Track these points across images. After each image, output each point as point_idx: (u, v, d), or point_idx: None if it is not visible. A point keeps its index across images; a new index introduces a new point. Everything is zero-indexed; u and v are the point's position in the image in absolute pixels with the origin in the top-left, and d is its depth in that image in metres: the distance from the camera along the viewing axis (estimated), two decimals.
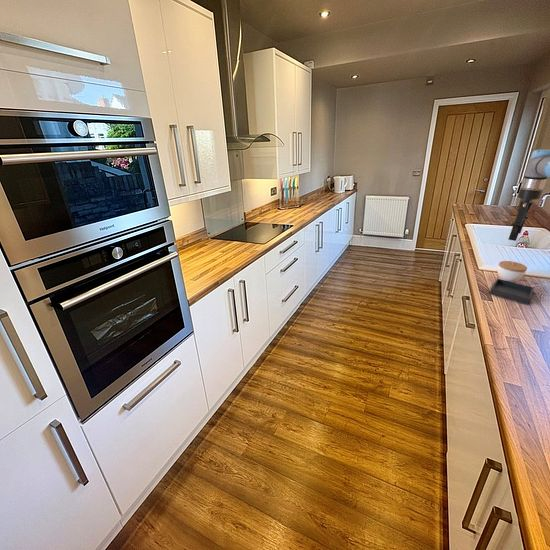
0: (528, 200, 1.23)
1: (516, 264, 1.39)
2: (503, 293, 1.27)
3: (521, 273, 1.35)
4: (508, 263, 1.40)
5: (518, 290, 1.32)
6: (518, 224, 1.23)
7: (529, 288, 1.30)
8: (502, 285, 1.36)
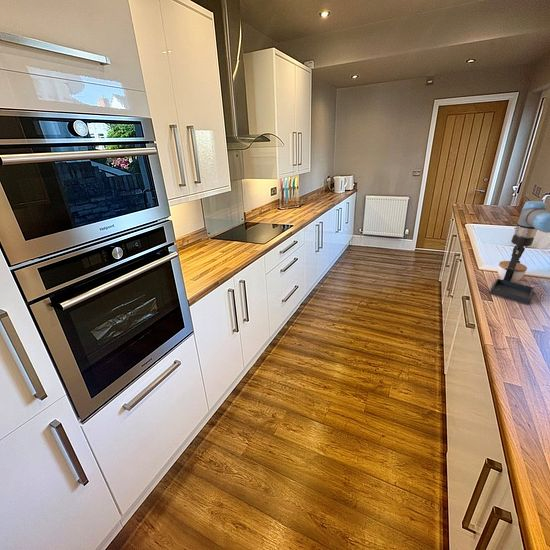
0: (521, 246, 1.31)
1: (516, 264, 1.39)
2: (503, 293, 1.27)
3: (521, 273, 1.35)
4: (508, 263, 1.40)
5: (518, 290, 1.32)
6: (511, 270, 1.32)
7: (529, 288, 1.30)
8: (502, 285, 1.36)
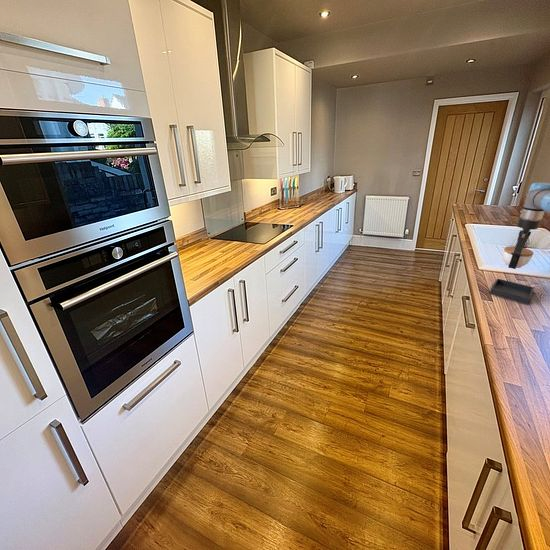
0: (527, 230, 1.28)
1: (522, 249, 1.35)
2: (503, 293, 1.27)
3: (528, 257, 1.31)
4: (513, 248, 1.36)
5: (518, 290, 1.32)
6: (517, 254, 1.29)
7: (529, 288, 1.30)
8: (502, 285, 1.36)
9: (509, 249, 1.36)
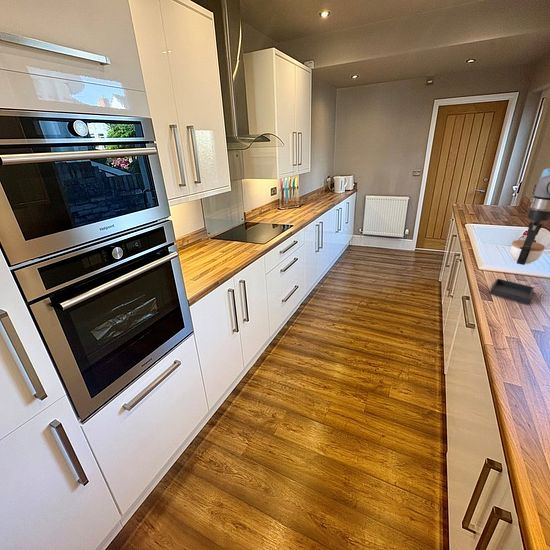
0: (538, 221, 1.15)
1: (532, 243, 1.22)
2: (503, 293, 1.27)
3: (539, 252, 1.18)
4: (522, 242, 1.23)
5: (518, 290, 1.32)
6: (527, 248, 1.16)
7: (529, 288, 1.30)
8: (502, 285, 1.36)
9: (517, 243, 1.23)
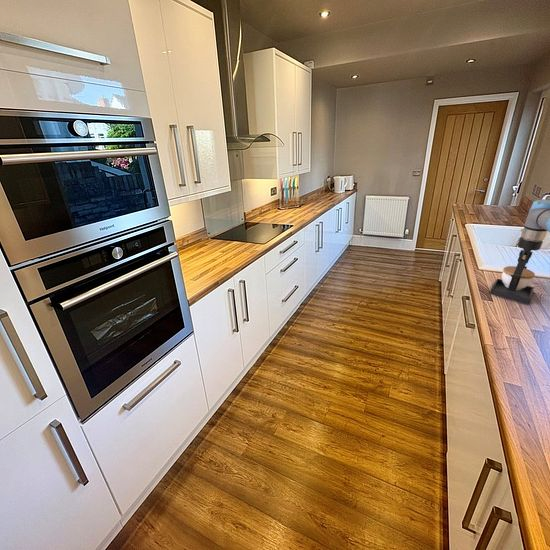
0: (528, 251, 1.18)
1: None
2: (503, 293, 1.27)
3: (529, 280, 1.22)
4: (513, 269, 1.27)
5: (518, 290, 1.32)
6: (517, 277, 1.19)
7: (529, 288, 1.30)
8: (502, 285, 1.36)
9: (509, 270, 1.26)
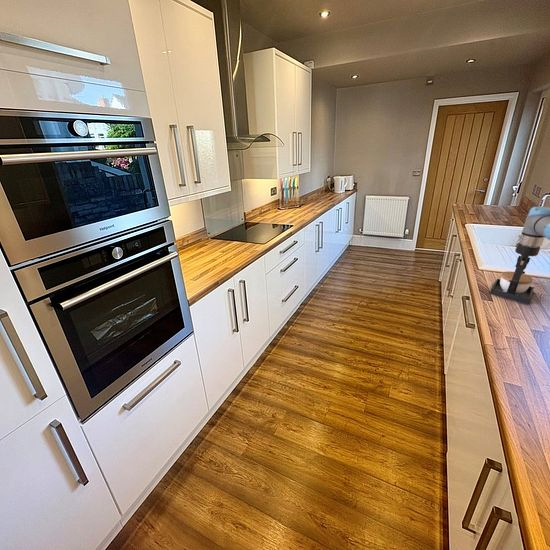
0: (526, 257, 1.20)
1: None
2: (503, 293, 1.27)
3: (526, 285, 1.23)
4: (511, 274, 1.28)
5: None
6: (515, 282, 1.20)
7: (529, 288, 1.30)
8: None
9: (507, 275, 1.28)
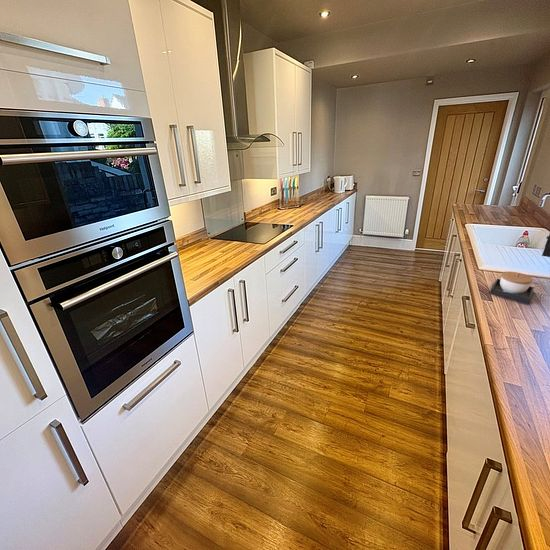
0: None
1: (520, 275, 1.27)
2: (503, 293, 1.27)
3: (526, 285, 1.23)
4: (511, 274, 1.28)
5: None
6: None
7: (529, 288, 1.30)
8: None
9: (507, 275, 1.28)
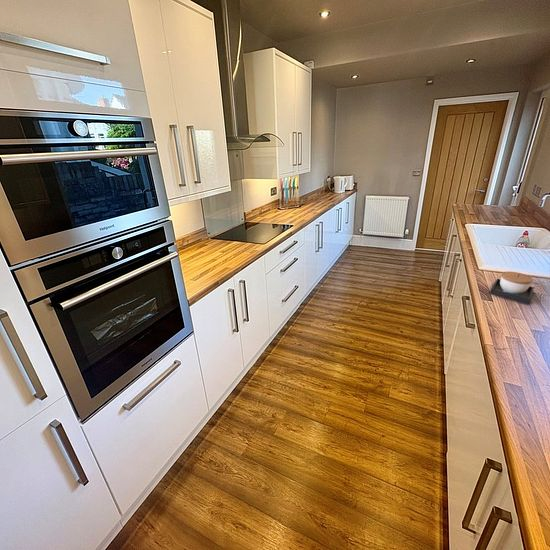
0: None
1: (520, 275, 1.27)
2: (503, 293, 1.27)
3: (526, 285, 1.23)
4: (511, 274, 1.28)
5: None
6: None
7: (529, 288, 1.30)
8: None
9: (507, 275, 1.28)
